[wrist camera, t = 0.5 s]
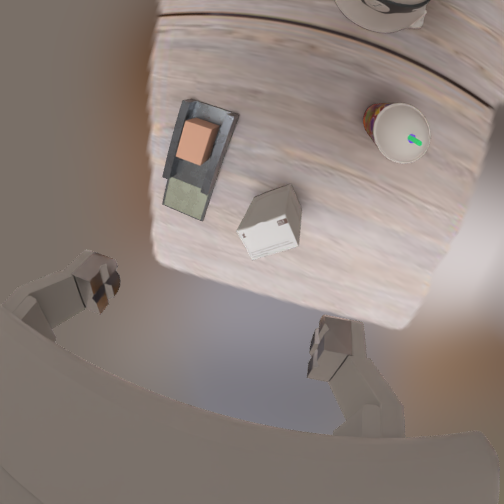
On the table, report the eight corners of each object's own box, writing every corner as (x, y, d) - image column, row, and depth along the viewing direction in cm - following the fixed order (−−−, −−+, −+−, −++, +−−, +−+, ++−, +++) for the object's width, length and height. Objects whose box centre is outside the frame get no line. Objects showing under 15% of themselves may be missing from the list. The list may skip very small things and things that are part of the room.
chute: (190, 98, 45) (182, 100, 42) (239, 115, 45) (234, 117, 42) (163, 203, 59) (155, 210, 56) (203, 220, 59) (197, 228, 56)
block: (195, 117, 46) (185, 120, 42) (220, 125, 46) (211, 129, 42) (185, 150, 50) (175, 156, 46) (208, 159, 50) (200, 165, 47)
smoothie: (352, 102, 40) (377, 111, 24) (395, 95, 37) (444, 103, 21) (363, 147, 44) (392, 184, 28) (405, 140, 41) (453, 173, 25)
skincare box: (265, 221, 56) (250, 263, 44) (253, 195, 54) (232, 232, 42) (304, 208, 53) (300, 249, 41) (292, 180, 50) (284, 214, 38)
